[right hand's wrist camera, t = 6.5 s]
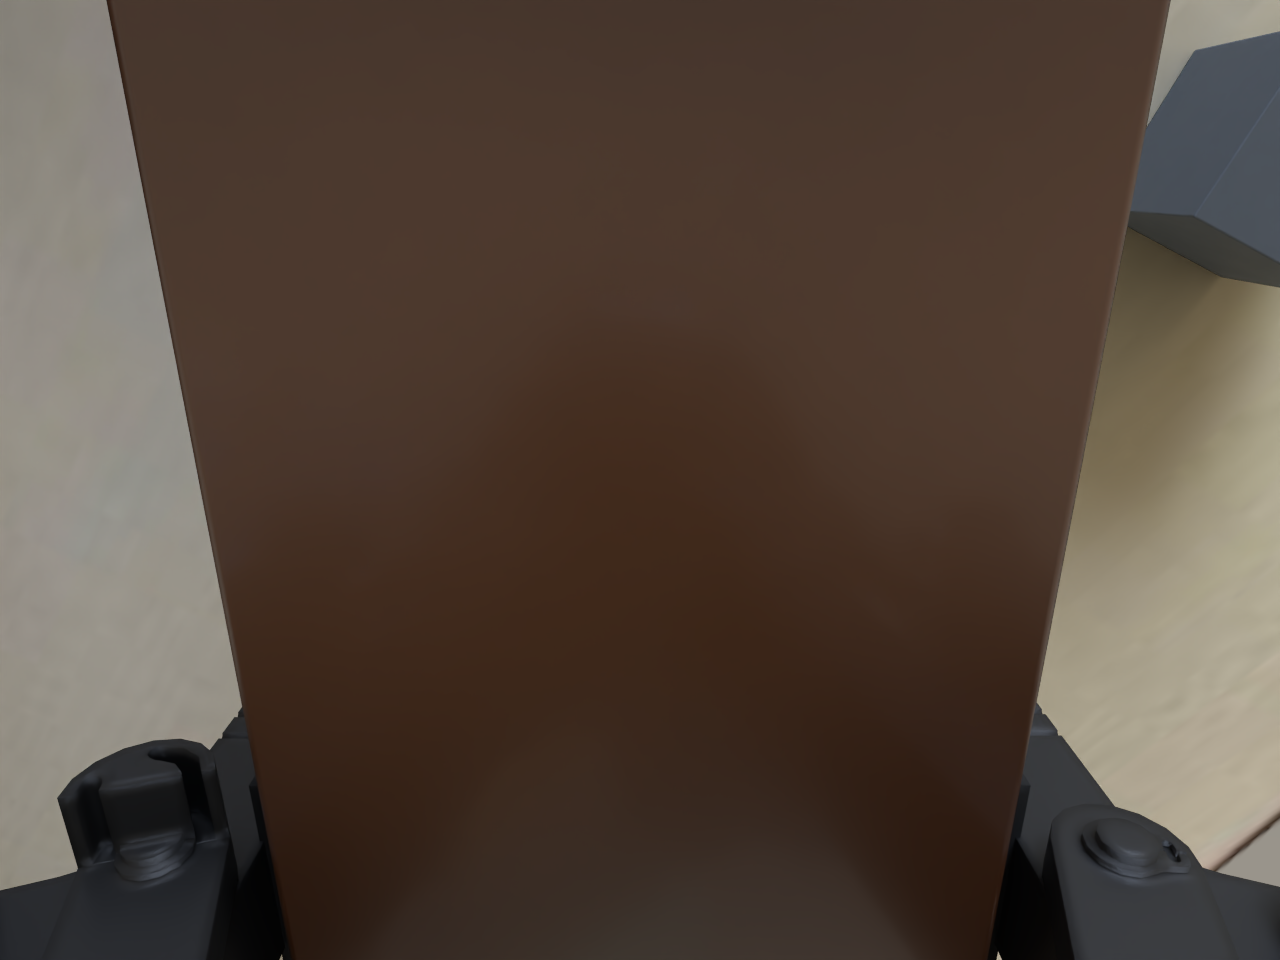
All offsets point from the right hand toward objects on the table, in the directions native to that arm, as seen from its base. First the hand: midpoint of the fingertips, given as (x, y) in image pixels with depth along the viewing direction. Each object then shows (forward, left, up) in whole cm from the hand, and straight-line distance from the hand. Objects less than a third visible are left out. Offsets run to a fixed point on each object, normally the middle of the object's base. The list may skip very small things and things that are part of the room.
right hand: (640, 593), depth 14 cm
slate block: (+18, -8, -15) cm, 24 cm away
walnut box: (+6, +6, 0) cm, 9 cm away
